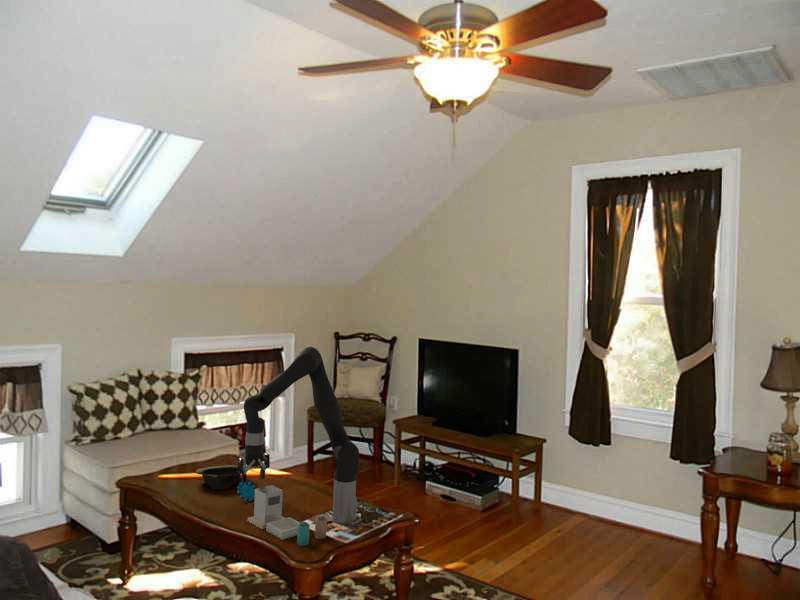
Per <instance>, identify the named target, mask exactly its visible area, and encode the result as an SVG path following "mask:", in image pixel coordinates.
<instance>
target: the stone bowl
mask: <svg viewBox="0 0 800 600" xmlns="http://www.w3.org/2000/svg"><path fill="white" fill-rule="evenodd" d="M237 466H238V465H232V464H231V465H230V464H229V465H228V464H227V465H213V466H206V467H202V468H198V469H196V471H195V474H197V475H200V476H201V475H202V480H203V482H204V483H205V484H206V485H208V486H210V489H211V490H214V491H216V490H217V491H220V490H225V489H231V488H232V487H233V485H234V486H236V485H237V486H239V485H240V484H239V483H240V482H241V481H242V480H241V473H239V472H237Z"/></svg>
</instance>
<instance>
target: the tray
mask: <svg viewBox="0 0 800 600" xmlns="http://www.w3.org/2000/svg"><path fill="white" fill-rule="evenodd" d="M300 522H301V521H298V520H296V519H295V518H292V517H285V519H281V520H277V521H274V522H270V523H266V529H265V531H266V532H267V533H269V534H271V535H273V536H274V537H276V538H277V539H280V540H282V541H283V540H286V539H291V538H293V537H296V536H297V534H298V524H300Z"/></svg>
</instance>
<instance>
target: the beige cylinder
mask: <svg viewBox="0 0 800 600" xmlns="http://www.w3.org/2000/svg"><path fill="white" fill-rule="evenodd" d="M314 521H315V522H314V523H315V524H314V538H315V539H319V540H323V539H326V538H327V527H328V526H327V522H328V519H327V517H325V516H324V515H318V516H317V517H316V518H315V520H314Z"/></svg>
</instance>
